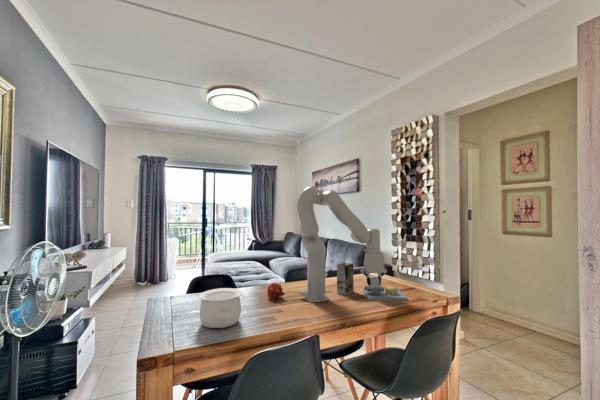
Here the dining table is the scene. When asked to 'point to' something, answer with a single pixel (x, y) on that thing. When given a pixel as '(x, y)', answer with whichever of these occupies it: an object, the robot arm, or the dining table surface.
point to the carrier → (386, 294)
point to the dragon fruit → (275, 291)
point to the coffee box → (345, 278)
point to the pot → (220, 307)
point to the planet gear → (374, 286)
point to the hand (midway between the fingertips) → (374, 284)
